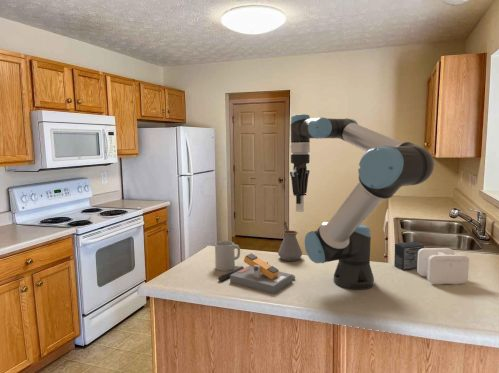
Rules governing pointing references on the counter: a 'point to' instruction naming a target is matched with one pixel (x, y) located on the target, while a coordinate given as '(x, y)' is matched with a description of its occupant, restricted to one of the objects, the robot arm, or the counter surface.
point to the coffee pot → (289, 246)
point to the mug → (225, 255)
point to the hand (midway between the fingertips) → (299, 211)
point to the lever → (261, 266)
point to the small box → (407, 255)
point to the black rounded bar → (229, 273)
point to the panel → (260, 279)
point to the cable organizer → (442, 266)
